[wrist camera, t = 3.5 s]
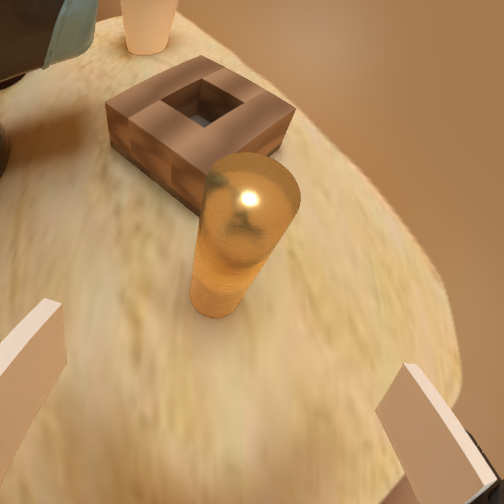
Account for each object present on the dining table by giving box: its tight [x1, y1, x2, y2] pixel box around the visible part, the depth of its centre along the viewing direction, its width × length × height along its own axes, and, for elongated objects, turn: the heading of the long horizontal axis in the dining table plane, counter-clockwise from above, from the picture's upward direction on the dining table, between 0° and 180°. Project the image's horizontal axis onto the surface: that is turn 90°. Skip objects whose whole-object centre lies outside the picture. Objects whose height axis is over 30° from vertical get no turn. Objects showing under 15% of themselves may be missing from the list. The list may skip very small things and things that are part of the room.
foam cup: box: [121, 0, 179, 55], centre depth 33 cm, size 10×9×13 cm
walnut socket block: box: [105, 55, 296, 217], centre depth 29 cm, size 13×13×6 cm
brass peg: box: [190, 152, 301, 318], centre depth 19 cm, size 4×4×14 cm
